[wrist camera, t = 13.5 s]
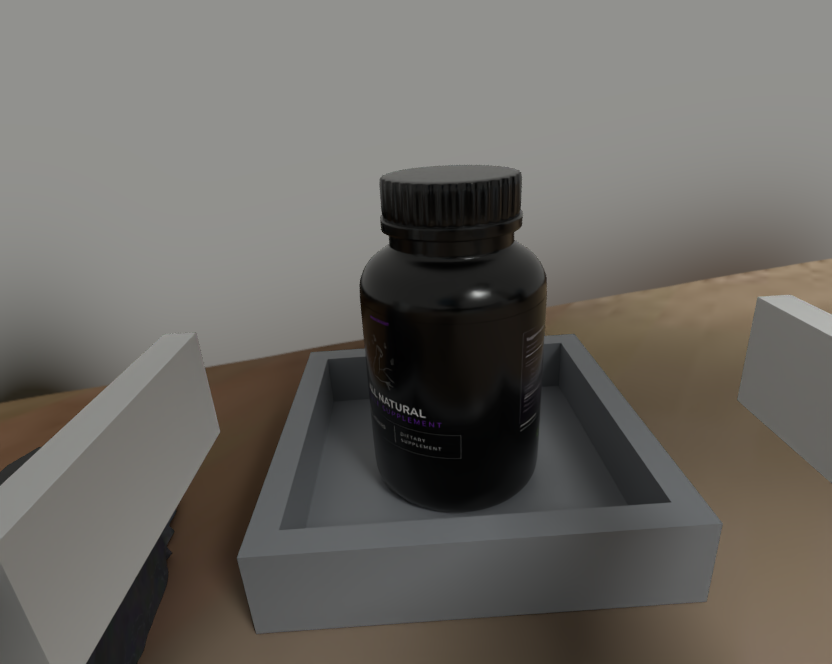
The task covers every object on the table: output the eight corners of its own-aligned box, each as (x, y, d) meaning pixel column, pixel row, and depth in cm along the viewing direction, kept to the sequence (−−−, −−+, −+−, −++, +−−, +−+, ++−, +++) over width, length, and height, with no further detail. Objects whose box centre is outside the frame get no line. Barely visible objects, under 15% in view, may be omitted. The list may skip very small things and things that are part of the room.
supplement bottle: (355, 510, 20) (313, 190, 16) (398, 415, 26) (376, 164, 22) (539, 530, 19) (554, 182, 14) (539, 424, 25) (549, 157, 20)
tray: (571, 385, 29) (574, 333, 28) (706, 601, 16) (722, 523, 15) (318, 402, 29) (311, 352, 28) (256, 633, 16) (236, 558, 15)
